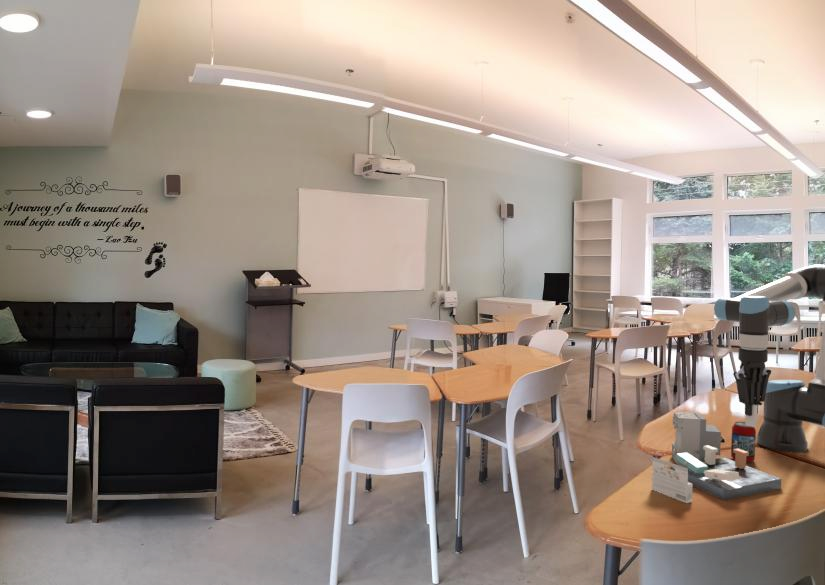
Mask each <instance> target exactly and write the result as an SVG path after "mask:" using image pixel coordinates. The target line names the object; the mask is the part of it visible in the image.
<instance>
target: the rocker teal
mask: <svg viewBox="0 0 825 585" xmlns="http://www.w3.org/2000/svg"><path fill="white" fill-rule="evenodd" d="M676 460H678V461H679V462H681V463H682V464H683V465H685V466H686V467H688V468H689V469H691V470H692V471H694V472H695V473H702V472H704V471H707V469H708V466H707V465H705V464H704V463H702V462H701V461H699V460H698V459H696V458H695V457H693V456H692V455H690V454H689V453H687V452H685V453H678V454H677V455H676Z"/></svg>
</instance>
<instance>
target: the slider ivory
mask: <svg viewBox="0 0 825 585" xmlns="http://www.w3.org/2000/svg"><path fill="white" fill-rule="evenodd" d="M703 449H704V450H705V459H704V460H705V463H707V464H709V465H713V464H715V459H716V457H717V455H716V452H718V449H717V448H714V447H712V446H709V445H706V446H703Z"/></svg>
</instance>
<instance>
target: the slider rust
mask: <svg viewBox="0 0 825 585" xmlns="http://www.w3.org/2000/svg"><path fill="white" fill-rule="evenodd" d="M733 453H736V454H735V459H734V461H735V467H738V468H741V469H742V468H746V466H747V463H746V456H749V452H747V451H744V450H741V449H733Z"/></svg>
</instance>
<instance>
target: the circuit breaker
mask: <svg viewBox="0 0 825 585" xmlns="http://www.w3.org/2000/svg"><path fill="white" fill-rule="evenodd" d="M672 425H673V429H674V430H675V431H674V432H675V434H674V435H675V436H674V442H673V441H672V443H671V457H672V459H673V460H674V461H675V463H676V465H678V464H682V463H681V462H679V461H678V460H676V455H677V454H678V453H685V452H687V453H689V454H690V455H692V456H693V457H695V458H696V459H698V460H699V461H705V450H704V449H703V446H706V445H709V446H712V447H714V448H717V449H718V452H716V456H720V455H721V444H725V442H726V441H725V440H726V439H725V438H723V436H722V431H720V430H719V429H718V428H717V427H716V426H715V425H713V424H707V419H706V418H705V417H704V416H703V415H702V414H701V413H699V412H686V411H685V412H684V411H683V412H682V411H673V416H672Z"/></svg>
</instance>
